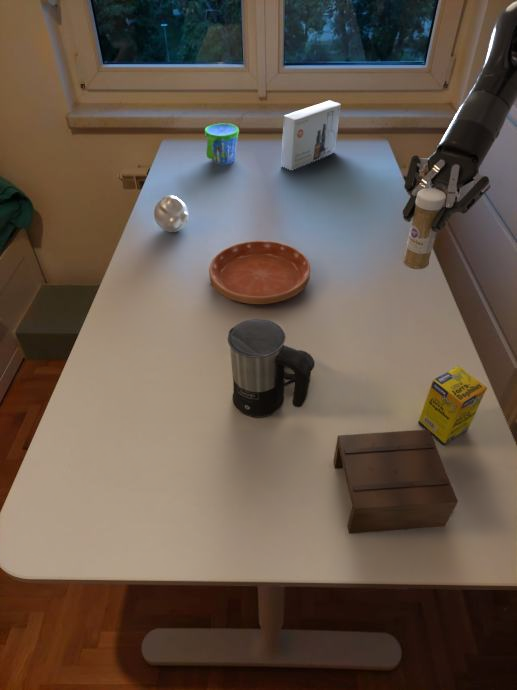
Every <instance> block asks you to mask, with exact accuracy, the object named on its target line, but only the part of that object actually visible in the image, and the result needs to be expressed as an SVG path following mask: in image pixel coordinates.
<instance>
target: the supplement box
mask: <svg viewBox="0 0 517 690" xmlns="http://www.w3.org/2000/svg"><path fill="white" fill-rule="evenodd" d="M487 389H488V387H487V386H486V385H485V384H483V383H482V382H481V381H480V380H478V379H477V378H475V377H474V376H473V375H471V374H470V373H469V372H468V371H466V370H465V369H464V368H462V367H461V366H460V365H456V366H455V367H453V368H452V369H450V370H449V371H446V372H445V373H442V374H441V375H439V376H437V377H435V378H434V379H432V382H431V384H430V388H429V390H428V393H427V396H426V398H425V401H424V405H423V408H422V410H421V413H420V416H419V419H418V422H417V424H418V425H419V426H421V427H422V428H423V430H430V432H431V435H432V437H433V439H434V440H436V441H437V442H439V444H441V446H442V447H443V446H444V447H445V446H446V445H448V444H450V443H451V441H453V440H455V439H457V438H458V437H459V436H461V435H463V434H464V433H466V432H467V431H469V428H470V426H471V424H472V422H473V419H474V418H475V415H476V413H477V411H478V409H479V406H480V404H481V403H482V399H483V398H484V395H485V393H486V391H487Z"/></svg>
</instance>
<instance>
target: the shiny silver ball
mask: <svg viewBox="0 0 517 690" xmlns="http://www.w3.org/2000/svg"><path fill="white" fill-rule="evenodd" d="M153 217H154V218H153V219H154V222H155V223H156V224H157V226H158V227H159V228H160V229H161V230H162V231H165V232H168V233H176V232H179V231H181V230H183V228H184V227H185V226H186V225H187V223H188V222H189V220H190V213H189V209H188V206H187V205H186V204H185V202H184V201H182V199H180V198H179V197H177V196H175V195H165V196H163V197H162V198H161V199H160V200H159V201H158V202H157V203H156V205H155V206H154V210H153Z"/></svg>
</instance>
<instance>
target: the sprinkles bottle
mask: <svg viewBox="0 0 517 690" xmlns="http://www.w3.org/2000/svg"><path fill="white" fill-rule="evenodd" d="M446 199H447V194H446V193H445V192H444V191H443V190H440V189H439V188H435V189H434V188H425V189H421V190H420V191H419V192H418V193H417V197H416V201H415V203H416V207H415V212H414V216H413V218H412V220H411V225H410V229H409V233H408V237H407V242H406V249H405V253H404V257H403V259H402V260H403V261H402V262H403V264H404V266H406V267H407V268H410V269H413V270H423V269H426V268H428V267H429V266H430V259H431V254H432V250H433V249H434V245H435V240H436V236H437V233H436V232H434V231H432V229H431V226H432V224H433V222H434V221H435V219H436V217H437V215H438V214H439V212H440V210H441V208H442V207H445V204H446Z"/></svg>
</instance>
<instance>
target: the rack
mask: <svg viewBox="0 0 517 690" xmlns="http://www.w3.org/2000/svg"><path fill="white" fill-rule="evenodd" d="M333 456H334V457H333V466H334V469H343V473H344V477H345V481H346V485H347V490H348V494H349V499H350V503H351V508H350V512H349V516H348V521H347V525H346V527H347V532H348V534H349V535H350V534H362V533H364V534H365V533H377V532H378V533H379V532H390V531H404V530H405V531H406V530H416V529H417V530H419V529H431V528H432V529H433V528H445V527H447V525H448V522H449V521H450V518H451V517H452V515H453V512H454V511H455V508H456V507H457V505H458V503H459V500H458V498H457V495H456V492H455V490H454V488H453V486H452V482H451V481H450V478H449V474H448V472H447V470H446V467H445V465H444V462H443V460H442V457H441V455H440V452H439V450H438V447H437V445H436V442H435V439H434V437H433V436H432V435H431V432H430V430H425V429H417V430H401V431H400V430H399V431H387V432H386V431H385V432H370V433H369V432H368V433H351V434H340V435H339V434H338V435H337V439H336V444H335V451H334V455H333Z"/></svg>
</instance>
